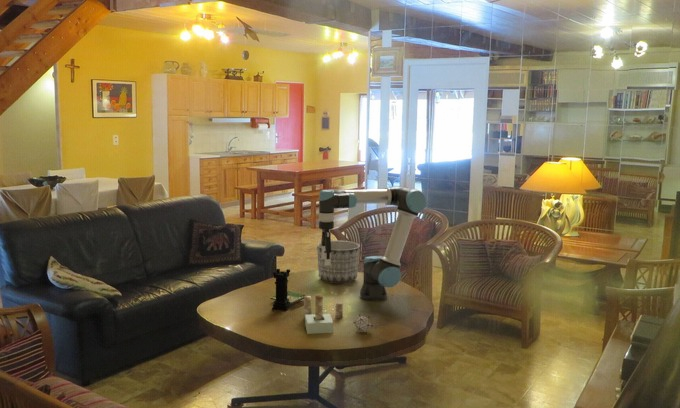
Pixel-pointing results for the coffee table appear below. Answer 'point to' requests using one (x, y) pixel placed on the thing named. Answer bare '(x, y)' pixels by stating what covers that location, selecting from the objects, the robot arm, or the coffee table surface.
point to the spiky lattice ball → (362, 324)
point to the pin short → (339, 310)
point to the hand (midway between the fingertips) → (325, 261)
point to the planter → (339, 262)
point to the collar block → (318, 324)
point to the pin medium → (307, 305)
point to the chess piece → (281, 290)
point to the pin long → (318, 307)
